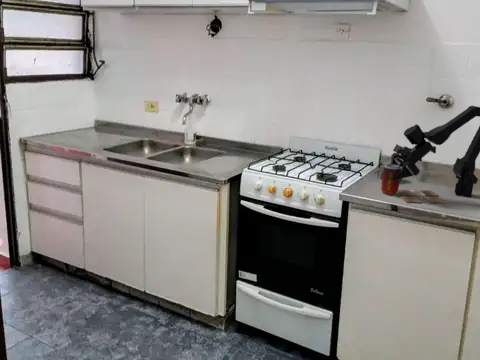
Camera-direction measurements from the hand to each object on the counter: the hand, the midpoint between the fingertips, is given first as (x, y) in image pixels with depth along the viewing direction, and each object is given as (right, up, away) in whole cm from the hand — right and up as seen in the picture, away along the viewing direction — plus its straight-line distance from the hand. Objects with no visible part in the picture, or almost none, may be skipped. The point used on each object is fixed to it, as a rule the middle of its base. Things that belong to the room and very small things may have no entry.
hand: (389, 176), depth 214 cm
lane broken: (+12, -10, -6) cm, 16 cm away
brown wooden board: (+13, -7, +3) cm, 15 cm away
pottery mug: (+7, -2, +23) cm, 24 cm away
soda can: (0, -7, +2) cm, 8 cm away
